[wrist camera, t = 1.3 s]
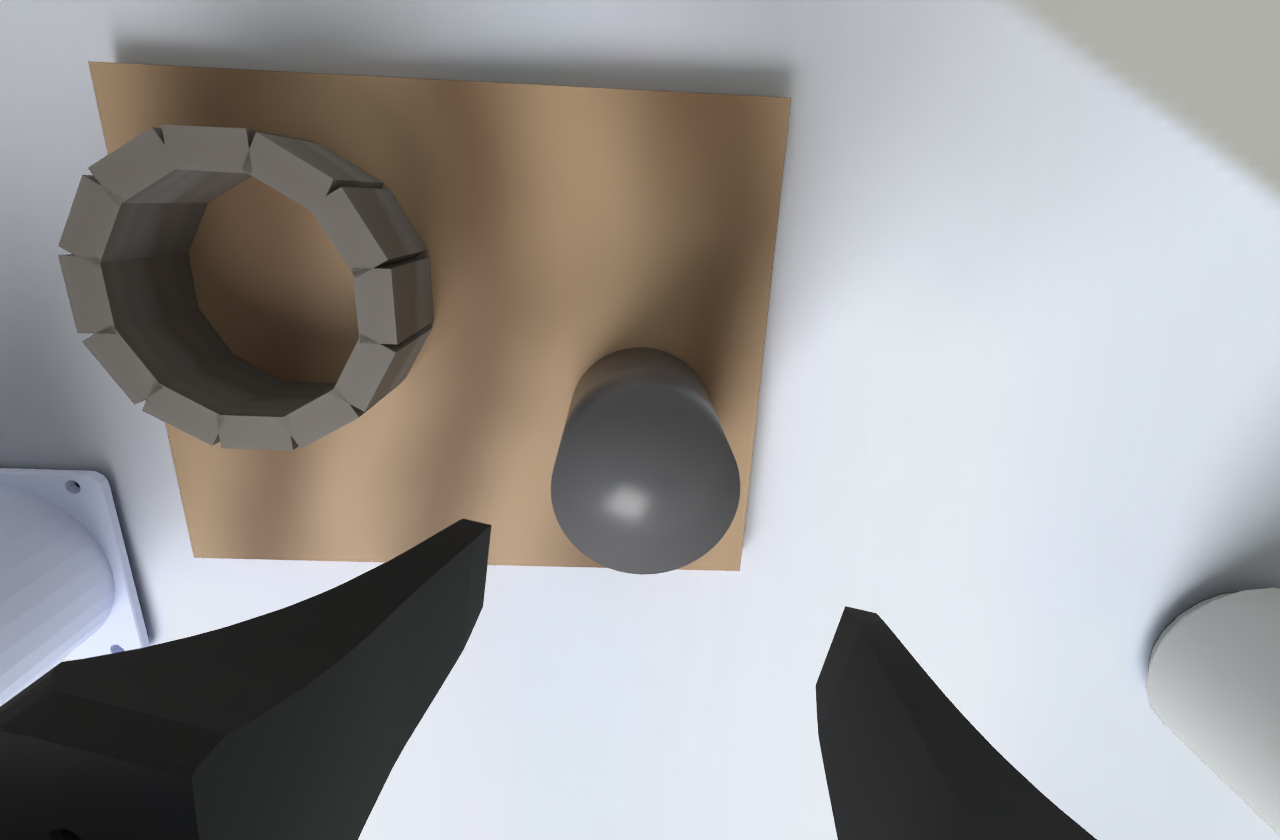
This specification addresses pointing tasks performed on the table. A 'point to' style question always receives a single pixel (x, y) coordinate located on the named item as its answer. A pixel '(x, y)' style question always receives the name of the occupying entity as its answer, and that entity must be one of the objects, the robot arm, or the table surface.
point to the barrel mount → (411, 290)
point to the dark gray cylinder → (643, 465)
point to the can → (1226, 691)
